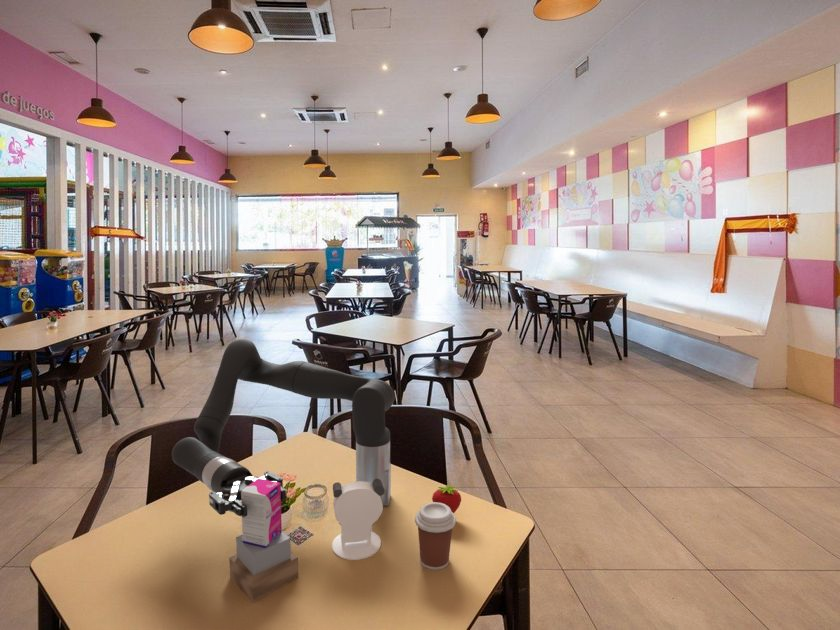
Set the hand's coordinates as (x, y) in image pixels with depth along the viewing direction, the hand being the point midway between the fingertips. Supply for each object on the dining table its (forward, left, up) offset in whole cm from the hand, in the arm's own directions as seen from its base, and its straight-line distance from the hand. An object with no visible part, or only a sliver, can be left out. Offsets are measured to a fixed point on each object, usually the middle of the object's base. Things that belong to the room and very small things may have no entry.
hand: (265, 503), depth 96 cm
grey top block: (+1, -2, -13) cm, 13 cm away
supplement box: (+1, -2, -9) cm, 9 cm away
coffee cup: (-34, -9, -18) cm, 40 cm away
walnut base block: (+1, -2, -18) cm, 18 cm away
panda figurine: (-16, -14, -18) cm, 28 cm away
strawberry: (-37, -26, -18) cm, 49 cm away
